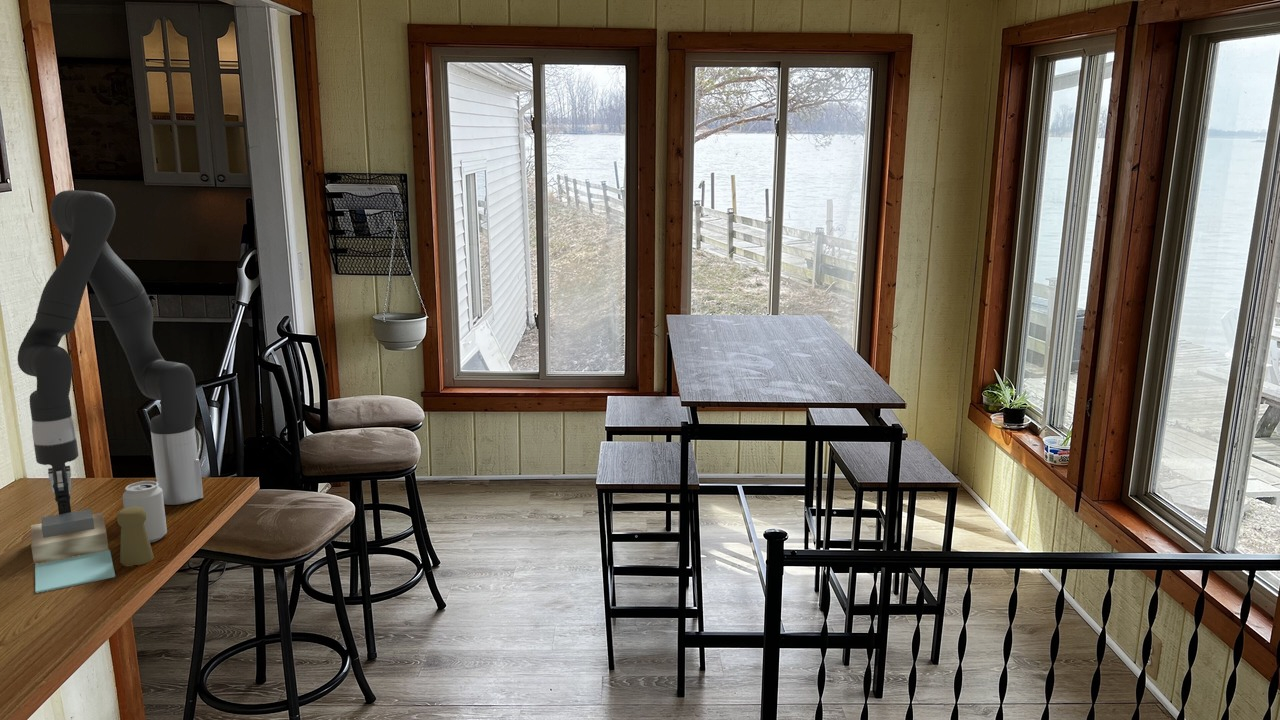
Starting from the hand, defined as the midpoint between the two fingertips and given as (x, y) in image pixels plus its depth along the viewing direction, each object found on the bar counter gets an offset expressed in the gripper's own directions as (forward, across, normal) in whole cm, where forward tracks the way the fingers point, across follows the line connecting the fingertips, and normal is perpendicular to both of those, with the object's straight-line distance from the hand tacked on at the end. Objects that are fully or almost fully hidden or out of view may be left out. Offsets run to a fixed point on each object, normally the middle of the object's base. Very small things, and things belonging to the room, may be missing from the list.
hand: (65, 516), depth 196 cm
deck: (+5, -5, 0) cm, 7 cm away
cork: (+5, -19, -12) cm, 23 cm away
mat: (+5, -19, -1) cm, 19 cm away
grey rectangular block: (0, -5, 0) cm, 5 cm away
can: (+5, -8, -14) cm, 17 cm away
